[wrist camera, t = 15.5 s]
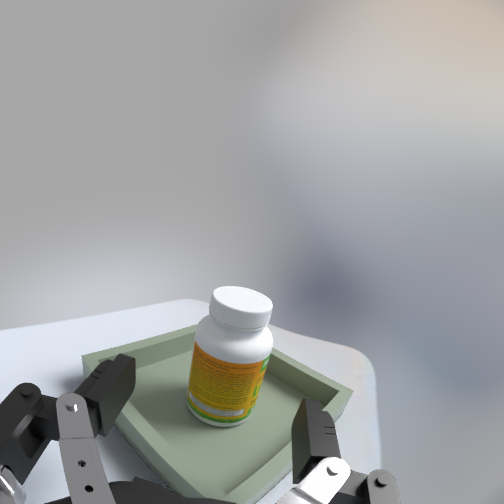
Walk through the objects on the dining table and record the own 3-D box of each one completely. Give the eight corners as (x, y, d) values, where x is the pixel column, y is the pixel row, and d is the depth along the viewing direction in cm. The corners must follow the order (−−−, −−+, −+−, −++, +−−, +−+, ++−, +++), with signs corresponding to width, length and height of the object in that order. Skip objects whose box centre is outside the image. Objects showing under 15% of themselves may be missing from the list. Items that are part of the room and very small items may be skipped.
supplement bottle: (256, 431, 19) (292, 322, 17) (183, 424, 18) (199, 309, 16) (248, 387, 24) (275, 288, 22) (187, 380, 23) (203, 276, 21)
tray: (85, 383, 20) (81, 355, 19) (217, 339, 32) (221, 316, 32) (220, 531, 11) (227, 515, 10) (341, 414, 23) (353, 390, 23)
